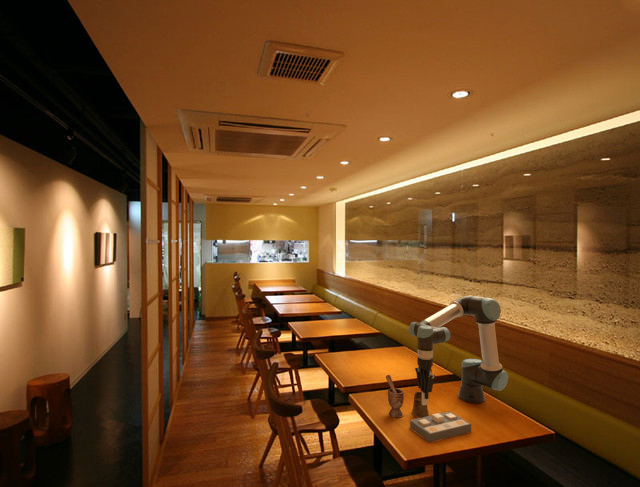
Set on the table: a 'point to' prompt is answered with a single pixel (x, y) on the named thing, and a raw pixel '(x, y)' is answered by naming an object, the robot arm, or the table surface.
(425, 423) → the button
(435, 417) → the button middle
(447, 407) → the table surface
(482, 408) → the table surface
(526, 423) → the table surface
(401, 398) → the mortar and pestle
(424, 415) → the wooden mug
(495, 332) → the robot arm
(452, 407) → the table surface
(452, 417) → the button
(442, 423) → the button panel
